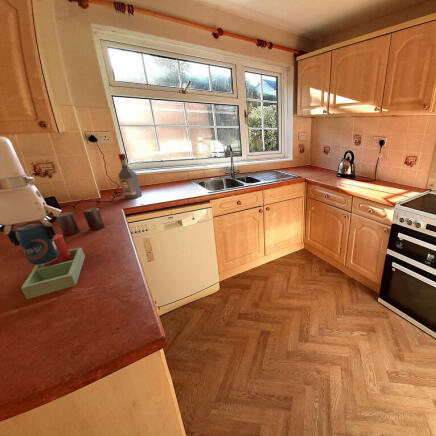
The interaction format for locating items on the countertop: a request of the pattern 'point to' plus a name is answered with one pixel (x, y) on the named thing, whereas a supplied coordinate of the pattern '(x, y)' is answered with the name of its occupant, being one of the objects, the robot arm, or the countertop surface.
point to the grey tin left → (68, 224)
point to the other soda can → (61, 251)
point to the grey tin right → (93, 219)
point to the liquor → (128, 180)
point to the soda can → (36, 243)
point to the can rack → (54, 276)
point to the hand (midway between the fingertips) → (36, 240)
